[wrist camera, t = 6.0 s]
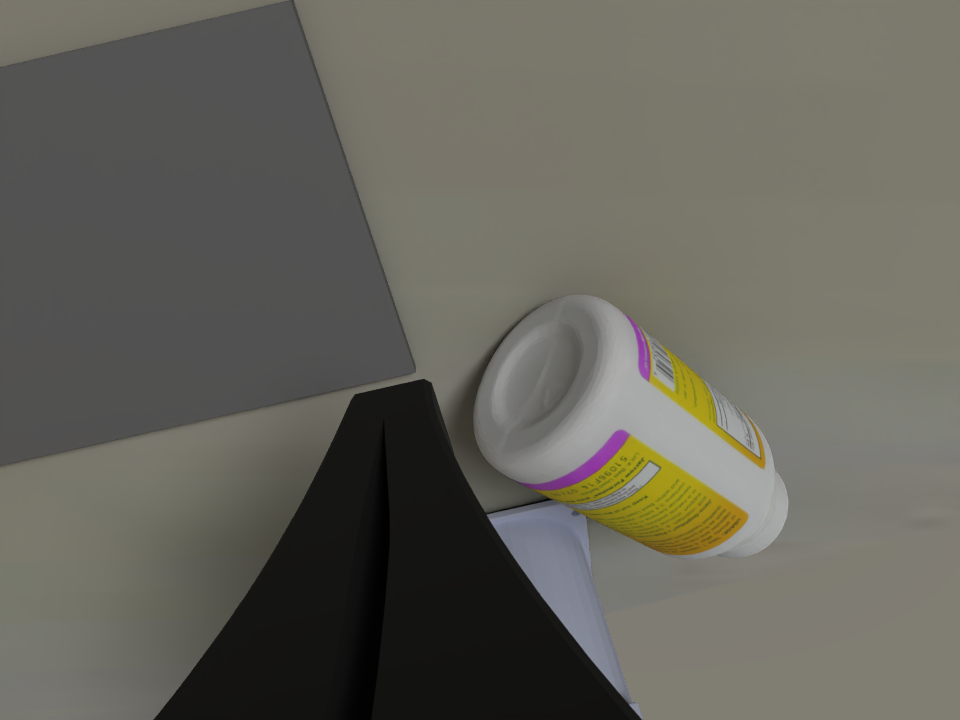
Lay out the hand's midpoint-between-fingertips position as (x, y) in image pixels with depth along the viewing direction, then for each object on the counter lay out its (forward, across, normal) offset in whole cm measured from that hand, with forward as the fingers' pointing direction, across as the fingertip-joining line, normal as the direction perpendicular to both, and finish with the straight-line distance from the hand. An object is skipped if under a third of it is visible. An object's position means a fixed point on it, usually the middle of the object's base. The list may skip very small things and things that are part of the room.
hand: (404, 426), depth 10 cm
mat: (+9, +10, 0) cm, 14 cm away
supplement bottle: (+6, -3, +5) cm, 8 cm away
